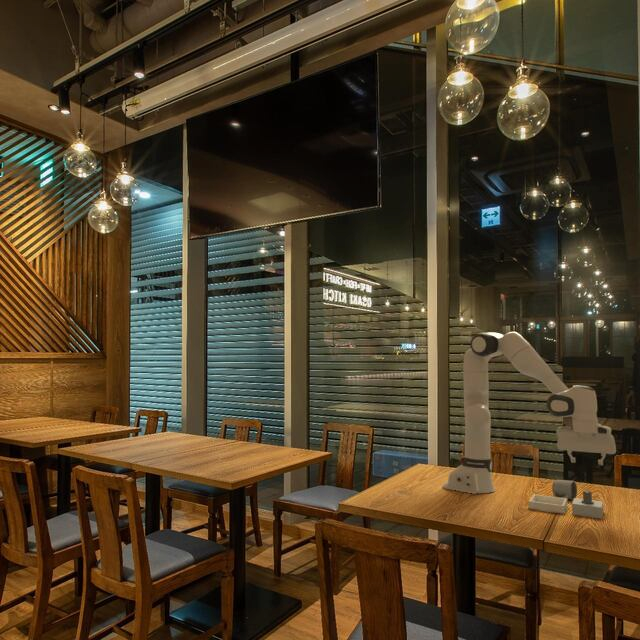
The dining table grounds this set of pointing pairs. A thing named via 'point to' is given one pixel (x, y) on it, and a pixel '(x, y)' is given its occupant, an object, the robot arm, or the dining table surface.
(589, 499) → the pin
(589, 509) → the grey square socket block
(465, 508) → the dining table surface
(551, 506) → the tray
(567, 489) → the ceramic mug
